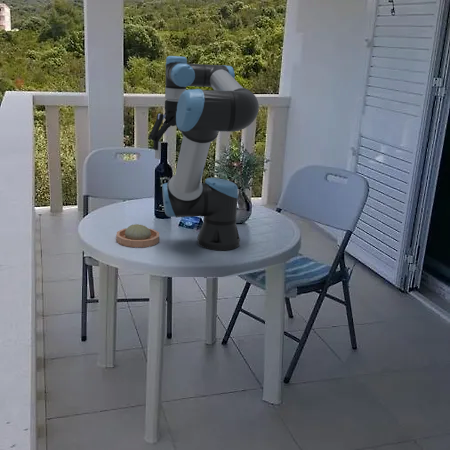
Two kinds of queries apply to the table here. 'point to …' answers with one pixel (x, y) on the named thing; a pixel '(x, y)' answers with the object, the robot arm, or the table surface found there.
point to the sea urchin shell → (137, 232)
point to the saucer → (137, 243)
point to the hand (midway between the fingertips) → (173, 157)
